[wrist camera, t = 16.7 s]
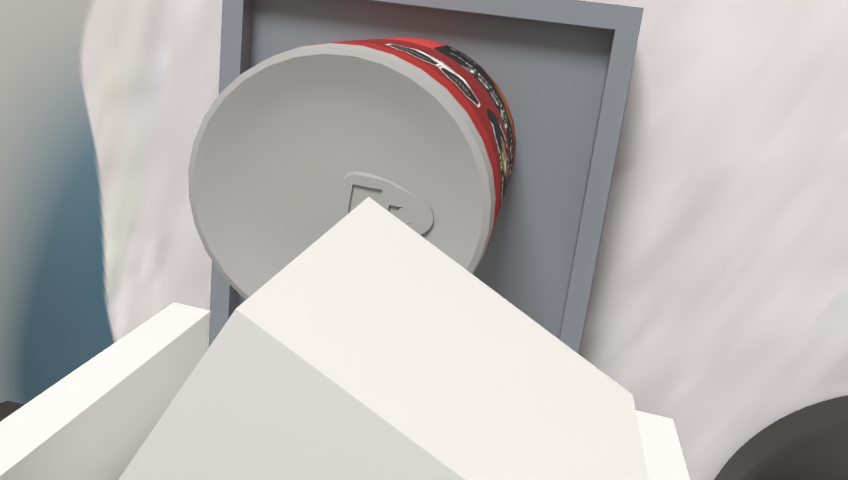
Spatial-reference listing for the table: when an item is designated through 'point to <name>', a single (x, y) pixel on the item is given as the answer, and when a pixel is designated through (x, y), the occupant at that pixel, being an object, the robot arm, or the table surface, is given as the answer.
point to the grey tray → (531, 111)
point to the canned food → (350, 152)
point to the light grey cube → (389, 379)
